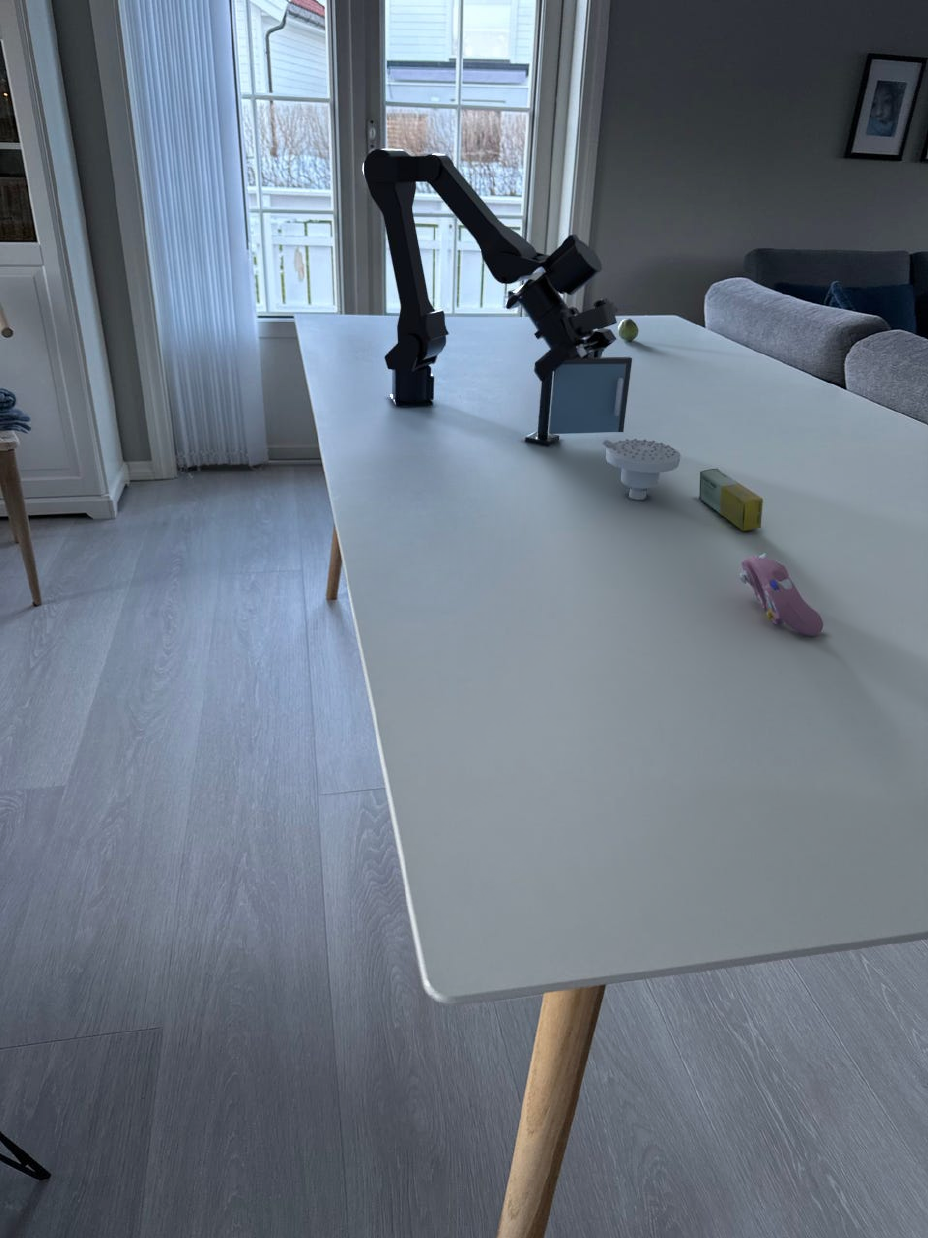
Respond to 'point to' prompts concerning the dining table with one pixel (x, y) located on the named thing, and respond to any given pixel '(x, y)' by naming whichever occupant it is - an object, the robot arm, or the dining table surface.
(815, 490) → the dining table surface
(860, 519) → the dining table surface
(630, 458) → the showerhead
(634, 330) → the lime
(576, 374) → the shower door
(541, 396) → the hinge post
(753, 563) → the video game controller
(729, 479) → the medication box
